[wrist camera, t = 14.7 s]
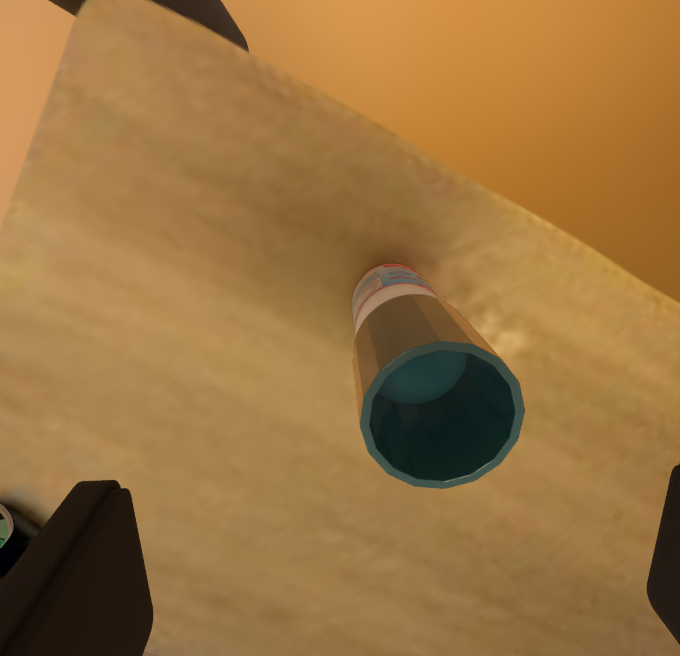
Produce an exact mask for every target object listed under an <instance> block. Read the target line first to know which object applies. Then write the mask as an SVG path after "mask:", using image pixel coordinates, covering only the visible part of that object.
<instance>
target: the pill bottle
mask: <svg viewBox="0 0 680 656" xmlns="http://www.w3.org/2000/svg"><path fill="white" fill-rule="evenodd" d="M408 294H423V295H430V296H433V297H436V298H438V297H437V296H436V294H435V293H434V292H433V291H432V289H431V288H430V287H429V285H428V284H427V283H426V282H425V280H424V279H423V278H422V277H421V276H420V275H419V274H418V273H417V272H416V271H414V270H413V269H411V268H409V267H407V266H405V265H401V264H392V263H391V264H383V265H380V266H377V267H375V268H373V269H371V270H370V271H369V272H367V273H366V274H365V275H364V276H363V277H362V278H361V280H360V281H359V283H358V284H357V286H356V288H355V290H354V293H353V298H352V312H353V320H354V327H355V335H356V334H357V331H358V329H359V327H360V325H361V324H362V322H363V321H364V319H365V318H366V317H367V316H368V315H369V313H370V312H372V311H373V310H374V309H375V308H376V307H378V306H379V305H380V304H382V303H384V302H386V301H388V300H390V299H392V298H395V297H398V296H402V295H408Z"/></svg>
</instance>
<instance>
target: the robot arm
mask: <svg viewBox="0 0 680 656" xmlns="http://www.w3.org/2000/svg"><path fill="white" fill-rule="evenodd" d="M647 594H648V598H649V601H650V603H651V606H652V607H653V609H654V610H655V612H656V613H657V614H658V616H659V617H660V619H661V620H662V621H663V623H664V624H665V625H666V627H667V628H668V629H669V631H670V632H671V633H672V635H673V636H674V638H675V639H676V640H677V642H678V643H679V644H680V464H679V465H677V466H675V467H674V468H673V470H672V473H671V477H670V481H669V486H668V490H667V495H666V500H665V504H664V509H663V513H662V518H661V522H660V527H659V532H658V536H657V541H656V545H655V550H654V554H653V559H652V563H651V568H650V573H649V577H648V582H647ZM152 624H153V606H152V601H151V596H150V591H149V585H148V580H147V575H146V570H145V565H144V560H143V554H142V549H141V544H140V539H139V534H138V529H137V523H136V518H135V513H134V508H133V503H132V497H131V494H130V491H129V490H128V489H126V488H122V489H121V487H120V485H119V483H118V482H117V481H115V480H101V481H82V482H79V483H77V484H76V485H75V486H74V488H73V489H72V490H71V491H70V493H69V494H68V495H67V497H66V498H65V499H64V501H63V502H62V503H61V505H60V506H59V507H58V508H57V510H56V511H55V512H54V514H53V515H52V516H51V518H50V519H49V520H48V522H47V523H46V524H45V525H44V527H43V528H42V529H41V531H40V532H39V533H38V535H37V536H36V537H35V539H34V540H33V541H32V542H31V544H30V545H29V546H28V548H27V549H26V550H25V552H24V553H23V554H22V556H21V557H20V558H19V560H18V561H17V562H16V563H15V565H14V566H13V567H12V569H11V570H10V571H9V573H8V574H7V575H6V577H5V578H4V579H3V580H2V581H1V582H0V656H142V655H143V652H144V649H145V647H146V644H147V641H148V638H149V636H150V632H151V629H152Z"/></svg>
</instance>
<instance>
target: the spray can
mask: <svg viewBox="0 0 680 656" xmlns="http://www.w3.org/2000/svg"><path fill="white" fill-rule="evenodd" d="M12 531H13V520H12V517H11V515H10V513H9V512H8V510H7V509H6V508H5V507H4V506H3V505H1V504H0V548H1V547H2V546H3V544H4V543H5V542H6V541H7V540H8V538H9V537H10V535H11V534H12Z"/></svg>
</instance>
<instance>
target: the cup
mask: <svg viewBox="0 0 680 656" xmlns="http://www.w3.org/2000/svg"><path fill="white" fill-rule="evenodd" d="M353 370H354V379H355V387H356V396H357V405H358V414H359V423H360V429H361V432H362V435H363V438H364V441H365V444H366V447H367V450H368V453H369V454H370V455H371V456H372V458H373V459H374V460H375V461H376V462H377V463H378V464H379V465H380V466H381V467H382V468H383V470H384V471H385V472H386V473H387V474H389V475H391V476H393V477H395V478H397V479H399V480H402V481H404V482H406V483H408V484H410V485H412V486H415V487H428V488H440V489H444V488H445V489H446V488H450V487H454V486H458V485H461V484H465V483H469V482H473V481H474V480H477V479H478V478H480V477H481V476H483V475H484V474H486V473H488V472H489V471H491V470H492V469H494V468H495V467H497V466H498V465H499V464H500V463H501V462H502V461H503V460H504V458H505V457H506V456H507V454H508V453H509V451H510V450H511V449H512V447H513V446H514V445H515V443H516V442H517V440H518V438H519V434H520V430H521V426H522V422H523V417H524V413H525V408H524V403H523V398H522V393H521V388H520V383H519V381H518V380H517V379H516V377H515V376H514V375H513V373H512V372H511V371H510V369H509V368H508V367H507V366H506V364H505V363H504V362H503V360H502V359H501V358H500V357H499V356H498V355H497V353H496V352H495V351H494V350H493V349H492V348H491V347H490V346H489V345H488V343H487V342H486V341H485V340H484V339H483V338H482V337H481V336H480V334H479V333H478V332H477V331H476V330H475V329H474V328H473V327H472V326H471V324H470V323H469V322H468V321H467V320H466V319H465V318H464V317H463V316H462V314H461V313H460V312H459V311H458V310H457V309H455V308H454V307H452V306H451V305H450V304H448V303H447V302H445V301H443V300H441V299H439V298H436V297H433V296H430V295H423V294H408V295H402V296H398V297H395V298H392V299H390V300H388V301H386V302H384V303H382V304H380V305H379V306H378V307H376V308H375V309H374V310H373V311H372V312H370V313H369V315H368V316H367V317H366V318H365V319H364V321H363V322H362V324H361V325H360V327H359V329H358V331H357V334H356V337H355V340H354V346H353Z"/></svg>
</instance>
